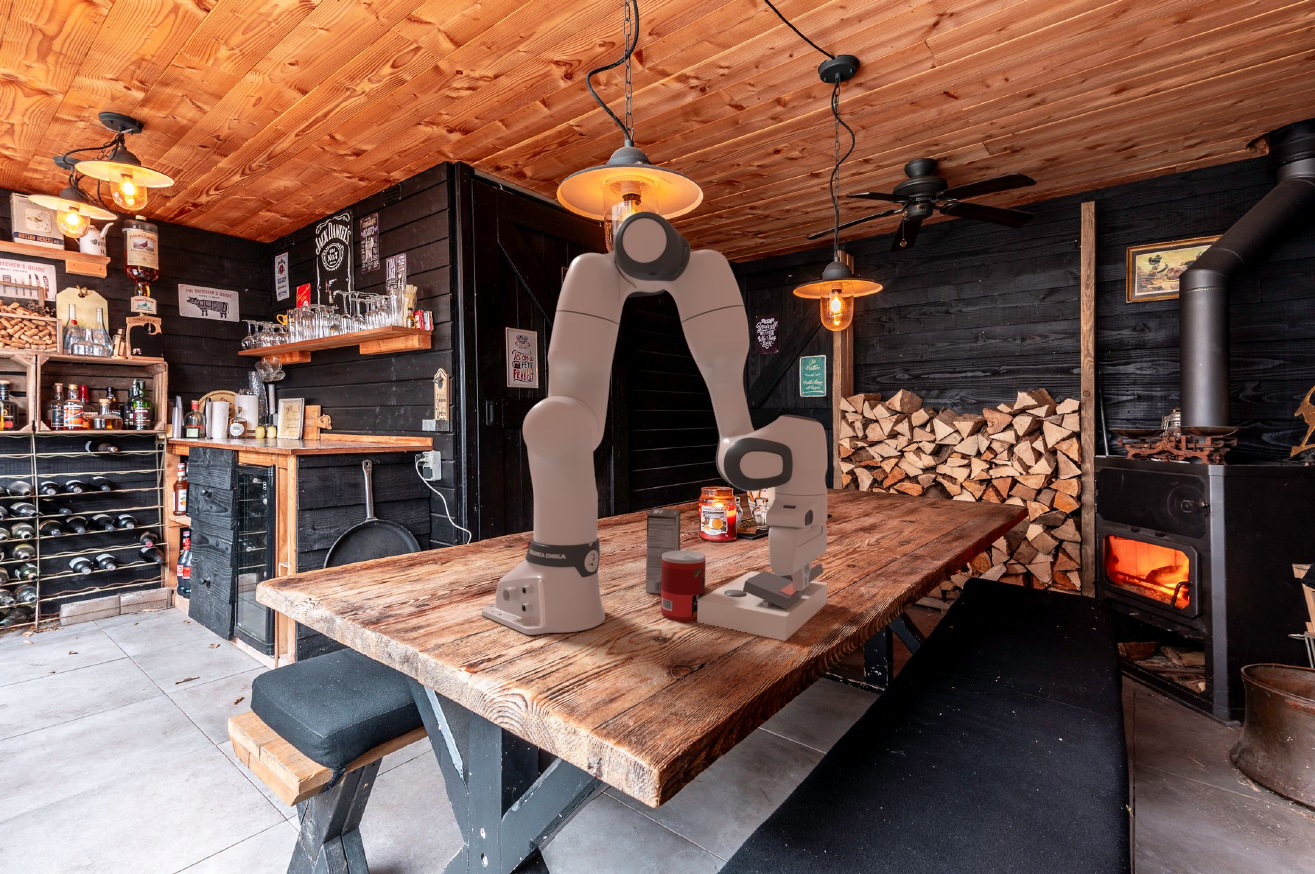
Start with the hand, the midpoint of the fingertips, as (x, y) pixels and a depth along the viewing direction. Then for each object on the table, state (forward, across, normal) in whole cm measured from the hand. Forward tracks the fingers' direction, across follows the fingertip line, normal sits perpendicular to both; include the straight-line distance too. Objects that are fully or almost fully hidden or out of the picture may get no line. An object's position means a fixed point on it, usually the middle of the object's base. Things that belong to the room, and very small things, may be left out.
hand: (800, 588), depth 105 cm
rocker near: (0, +1, -4) cm, 4 cm away
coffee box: (+6, -7, -32) cm, 33 cm away
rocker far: (0, -10, -4) cm, 11 cm away
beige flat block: (+6, -4, -8) cm, 11 cm away
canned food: (+6, +6, -20) cm, 22 cm away
